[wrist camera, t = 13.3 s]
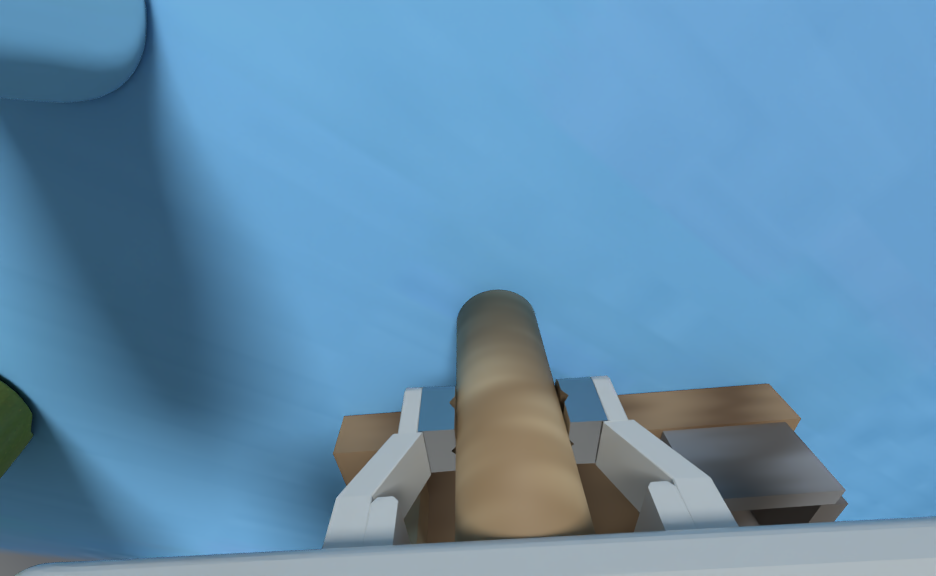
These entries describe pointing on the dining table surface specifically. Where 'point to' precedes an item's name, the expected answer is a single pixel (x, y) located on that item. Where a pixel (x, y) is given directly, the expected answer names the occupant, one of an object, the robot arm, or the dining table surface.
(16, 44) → the beer glass
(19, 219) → the dining table surface
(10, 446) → the plant pot
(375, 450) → the wooden assembly base board
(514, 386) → the oak leg peg
